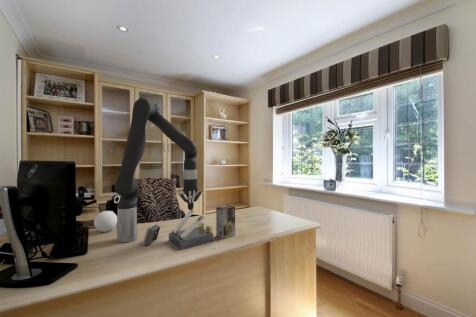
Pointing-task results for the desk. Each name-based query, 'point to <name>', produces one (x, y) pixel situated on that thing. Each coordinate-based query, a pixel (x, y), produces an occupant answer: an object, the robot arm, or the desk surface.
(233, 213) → the coffee box
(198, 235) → the clamp block
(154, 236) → the grey irregular chunk
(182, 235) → the near strap
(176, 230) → the far strap
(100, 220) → the decorative ball
